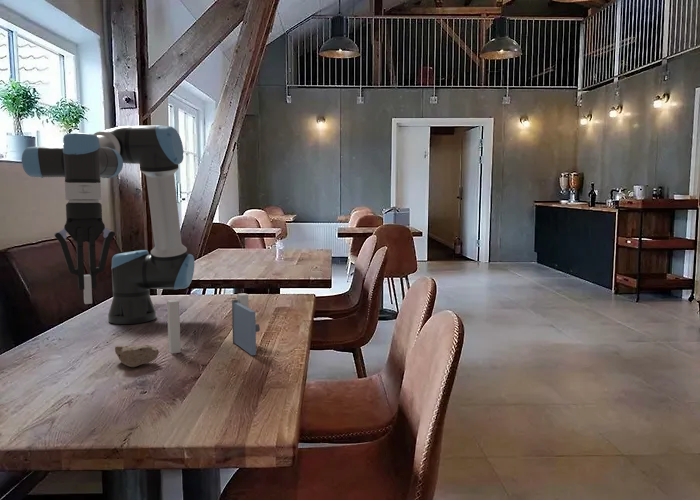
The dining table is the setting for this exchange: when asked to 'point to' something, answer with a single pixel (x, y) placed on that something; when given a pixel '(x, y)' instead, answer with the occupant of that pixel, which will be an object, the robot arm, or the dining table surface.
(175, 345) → the pair of grey bars
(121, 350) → the stone
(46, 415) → the dining table surface
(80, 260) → the robot arm
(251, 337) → the door
